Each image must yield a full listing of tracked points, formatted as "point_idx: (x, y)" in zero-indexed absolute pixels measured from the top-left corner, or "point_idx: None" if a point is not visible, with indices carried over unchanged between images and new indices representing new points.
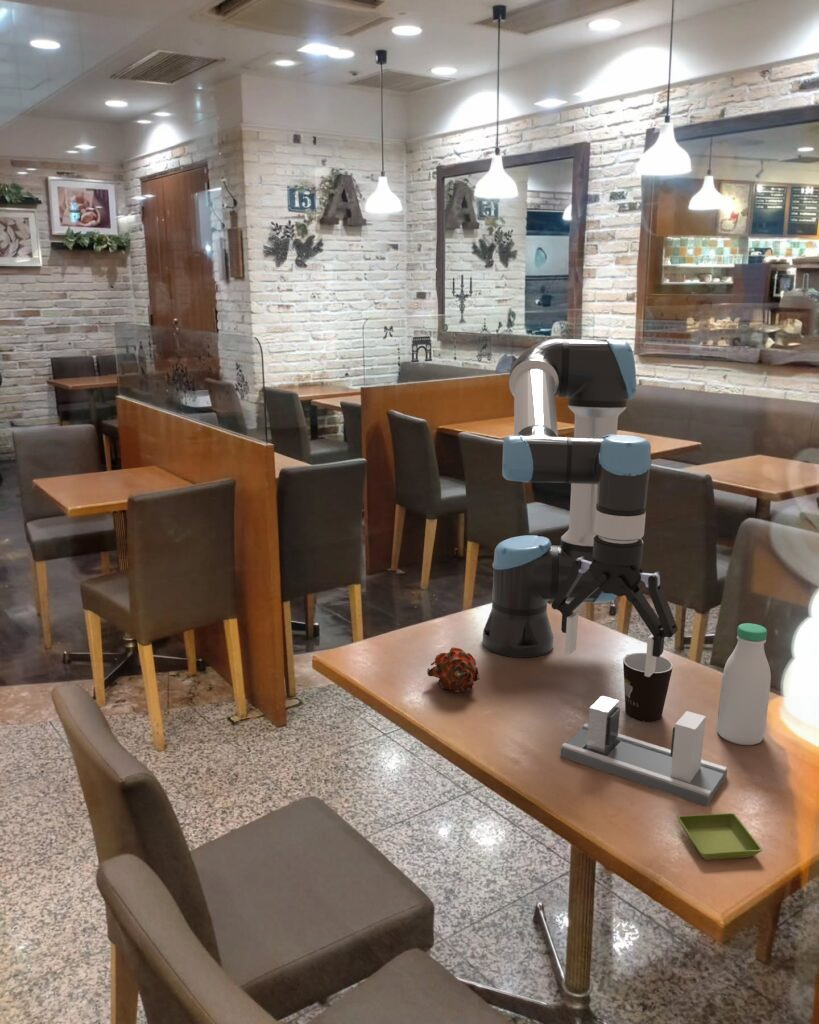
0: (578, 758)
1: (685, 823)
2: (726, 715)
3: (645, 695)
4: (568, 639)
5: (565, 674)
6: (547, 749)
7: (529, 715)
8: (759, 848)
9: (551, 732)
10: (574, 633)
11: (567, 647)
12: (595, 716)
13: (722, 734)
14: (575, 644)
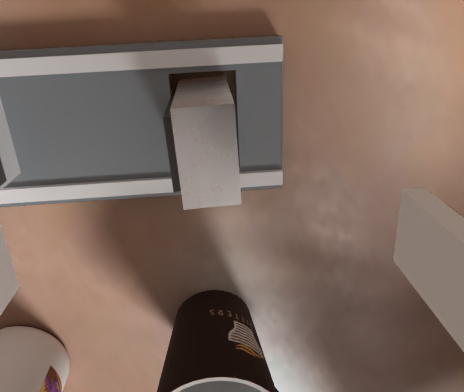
0: (228, 38)
1: None
2: (14, 368)
3: (194, 334)
4: (454, 226)
5: (415, 359)
6: (319, 46)
7: (420, 165)
8: None
9: (344, 128)
10: (446, 292)
11: (431, 204)
12: (210, 100)
13: (38, 334)
14: (406, 268)
